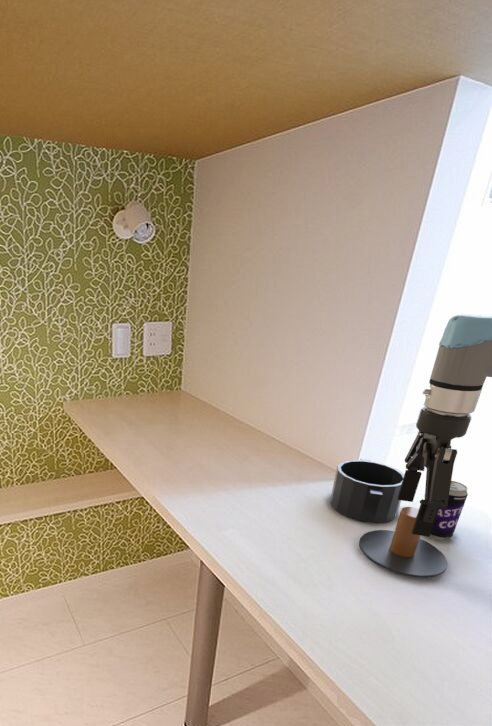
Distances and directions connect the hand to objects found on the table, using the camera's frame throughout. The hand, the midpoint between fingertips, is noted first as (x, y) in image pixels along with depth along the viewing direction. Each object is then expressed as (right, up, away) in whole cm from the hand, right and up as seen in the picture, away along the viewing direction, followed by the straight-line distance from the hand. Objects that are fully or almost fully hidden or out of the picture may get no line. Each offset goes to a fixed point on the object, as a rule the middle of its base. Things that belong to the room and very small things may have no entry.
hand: (412, 516), depth 84 cm
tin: (+1, 0, +22) cm, 22 cm away
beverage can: (+12, -5, +11) cm, 18 cm away
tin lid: (0, -8, +4) cm, 9 cm away
